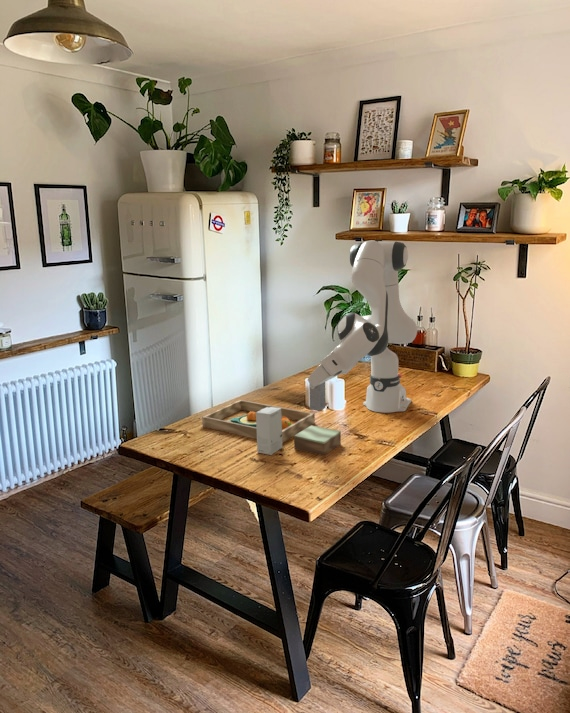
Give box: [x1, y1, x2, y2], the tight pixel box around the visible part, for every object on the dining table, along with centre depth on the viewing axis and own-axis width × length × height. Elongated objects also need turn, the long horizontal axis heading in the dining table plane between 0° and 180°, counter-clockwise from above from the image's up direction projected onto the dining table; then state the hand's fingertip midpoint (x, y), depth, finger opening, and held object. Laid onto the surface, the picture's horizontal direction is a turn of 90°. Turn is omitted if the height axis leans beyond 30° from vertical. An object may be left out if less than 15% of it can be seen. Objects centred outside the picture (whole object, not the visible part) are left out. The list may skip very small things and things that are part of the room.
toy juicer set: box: [226, 411, 292, 430], centre depth 236 cm, size 29×18×8 cm, turn 59°
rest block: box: [293, 424, 342, 457], centre depth 216 cm, size 12×12×5 cm
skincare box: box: [256, 407, 283, 456], centre depth 212 cm, size 8×6×15 cm
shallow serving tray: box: [201, 399, 316, 443], centre depth 239 cm, size 25×36×4 cm
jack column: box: [308, 382, 326, 412], centre depth 212 cm, size 4×4×12 cm
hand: (315, 385), depth 211 cm, fingers closed on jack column, 4 cm apart
